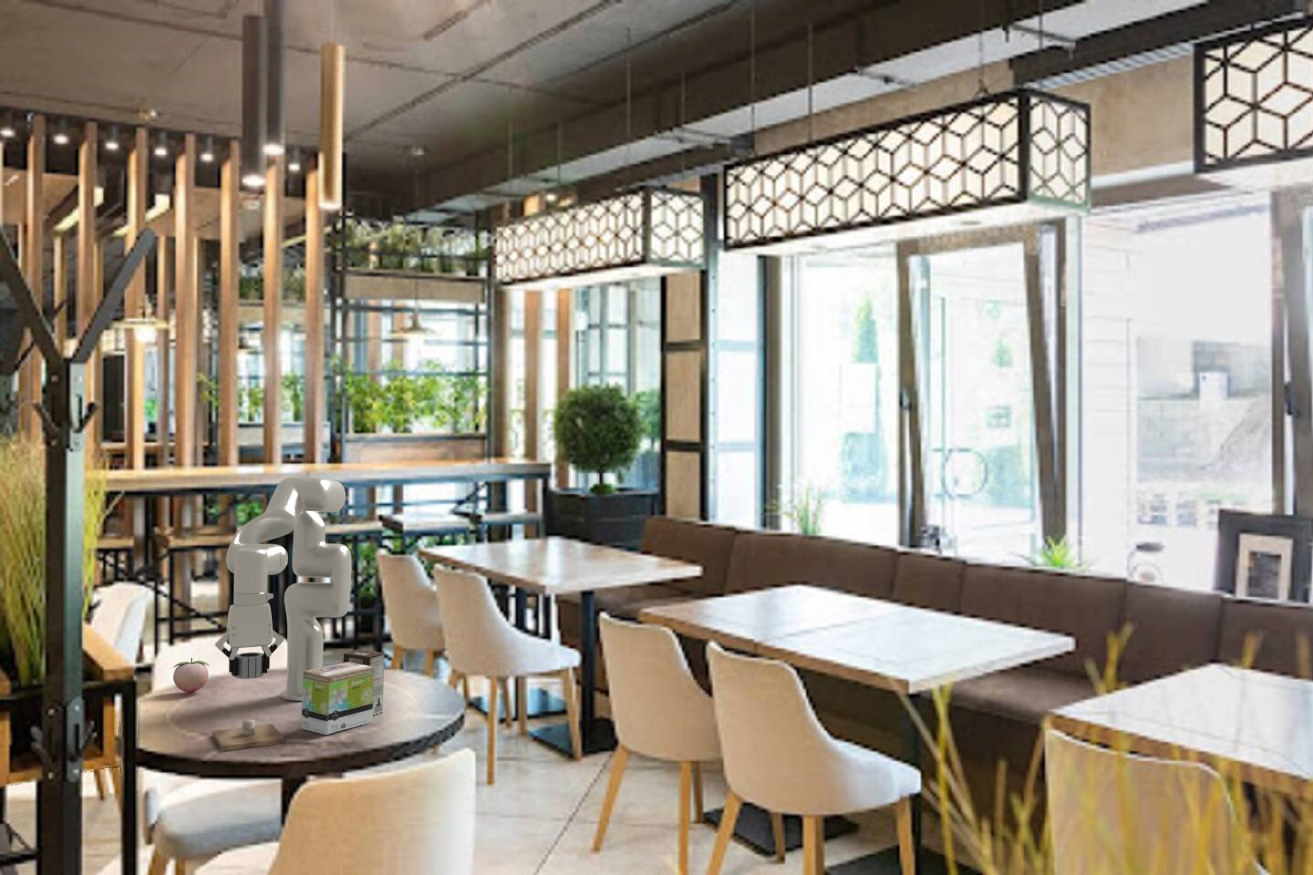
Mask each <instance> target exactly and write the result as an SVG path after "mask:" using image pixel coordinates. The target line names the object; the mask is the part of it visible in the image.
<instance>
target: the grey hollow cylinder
mask: <svg viewBox="0 0 1313 875" xmlns="http://www.w3.org/2000/svg"><path fill="white" fill-rule="evenodd" d="M263 653H264V652H257V651H256V652H253V651H252V652H251V651H250V652H241V653H237V654H236V656H235V657H236V660H237V676H234V677H235V678H236V679H242V680H248V679H251V680H252V679H258V678H261V677H263V676H265V673H264V654H263Z"/></svg>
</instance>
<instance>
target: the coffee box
mask: <svg viewBox="0 0 1313 875" xmlns="http://www.w3.org/2000/svg"><path fill="white" fill-rule="evenodd" d="M342 660H343V662H342V663H346V662H352V663H357V664H362V665H367V666H371V667H374V684H373V715H375V714H378V715H380V714H379V713H381V712H383V713H384V681H385V680H384V679H385V652H380V651H373V650H366V649H362V648H358V649H354V650H350V651H347V652H345V653H343V658H342ZM381 714H382V713H381ZM375 716H376V715H375Z"/></svg>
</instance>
